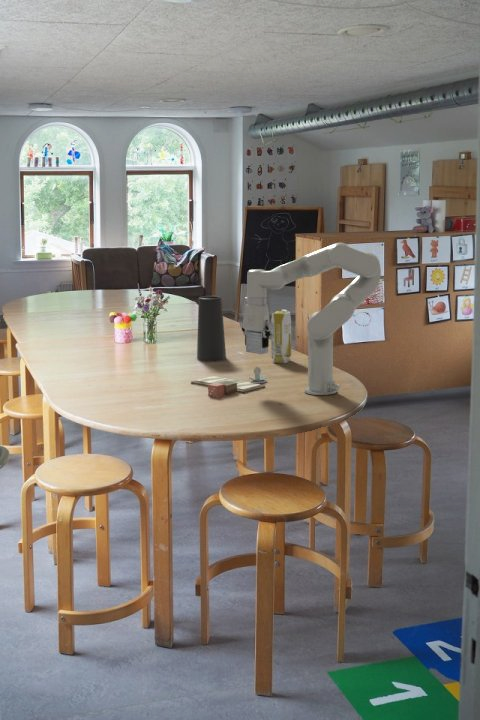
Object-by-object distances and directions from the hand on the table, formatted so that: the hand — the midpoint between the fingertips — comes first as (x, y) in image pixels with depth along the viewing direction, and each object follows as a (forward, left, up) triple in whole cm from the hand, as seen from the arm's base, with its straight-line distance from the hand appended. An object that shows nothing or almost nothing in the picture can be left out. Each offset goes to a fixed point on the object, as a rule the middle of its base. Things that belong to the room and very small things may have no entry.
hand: (256, 345), depth 345 cm
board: (+16, 0, -18) cm, 24 cm away
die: (+8, +13, -16) cm, 22 cm away
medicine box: (0, 0, -3) cm, 3 cm away
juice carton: (+30, -51, -18) cm, 62 cm away
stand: (+8, +10, -18) cm, 22 cm away
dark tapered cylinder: (+61, -37, -18) cm, 74 cm away
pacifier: (+10, -13, -19) cm, 25 cm away
